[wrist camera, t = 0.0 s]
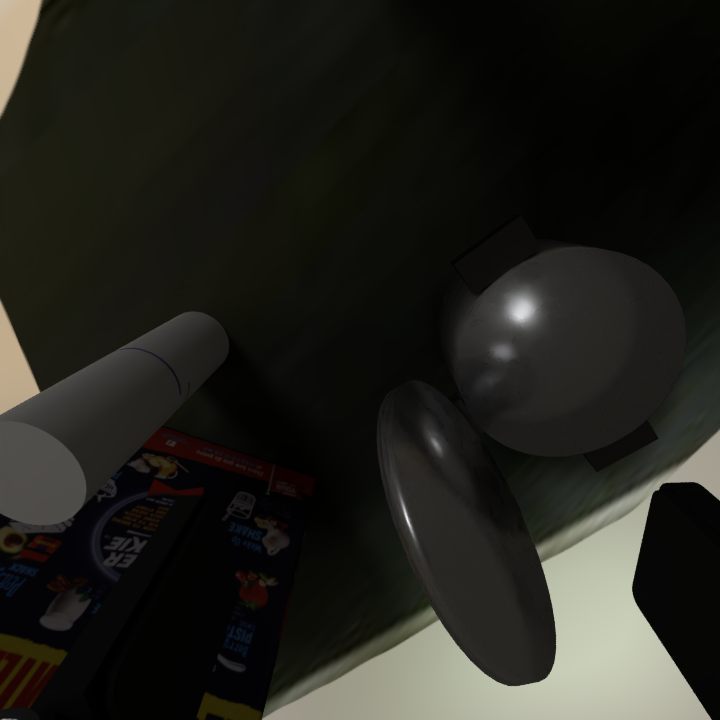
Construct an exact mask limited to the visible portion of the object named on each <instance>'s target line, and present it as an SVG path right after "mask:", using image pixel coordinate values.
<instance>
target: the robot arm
mask: <svg viewBox="0 0 720 720" xmlns="http://www.w3.org/2000/svg"><path fill="white" fill-rule="evenodd" d="M632 592H633V596H634V599H635V602H636V604H637V606H638V607H639V609H640V610H641V612H642V613H643V615H644V616H645V618H646V620H647V621H648V622H649V624H650V626H651V627H652V629H653V630H654V632H655V633H656V635H657V636H658V638H659V639H660V641H661V643H662V644H663V646H664V647H665V649H666V650H667V652H668V653H669V655H670V656H671V658H672V659H673V661H674V662H675V664H676V666H677V667H678V669H679V670H680V672H681V673H682V675H683V676H684V678H685V679H686V681H687V682H688V684H689V685H690V687H691V688H692V690H693V692H694V693H695V694H696V696H697V698H698V699H699V701H700V702H701V704H702V705H703V707H704V708H705V710H706V712H707V713H708V715H709V716H710V718H711V719H712V720H720V501H719V500H718V499H717V498H716V497H715V496H713V495H712V494H711V493H710V492H709V491H708V490H707V489H705V488H704V487H703V486H701V485H700V484H698V483H695V482H681V483H664V484H662V485H661V486H660V489H659V490H657V491H655V492H654V493H653V495H652V498H651V503H650V507H649V512H648V516H647V521H646V526H645V530H644V534H643V539H642V543H641V548H640V553H639V557H638V562H637V566H636V571H635V575H634V580H633V586H632ZM235 604H236V588H235V583H234V578H233V574H232V569H231V565H230V560H229V555H228V551H227V546H226V541H225V537H224V532H223V527H222V523H221V518H220V514H219V509H218V505H217V503H216V502H215V501H210V498H209V497H208V495H181V496H179V497H178V498H177V499H176V500H175V502H174V503H173V505H172V506H171V508H170V509H169V510H168V512H167V513H166V515H165V516H164V518H163V519H162V521H161V522H160V524H159V525H158V527H157V528H156V530H155V531H154V532H153V534H152V535H151V537H150V538H149V540H148V541H147V543H146V544H145V546H144V547H143V549H142V550H141V552H140V553H139V555H138V556H137V557H136V559H135V560H134V562H133V563H131V564H130V565H129V566H128V567H127V568H126V570H125V571H124V572H123V574H122V575H121V577H120V578H119V580H118V581H117V583H116V584H115V585H114V587H113V588H112V590H111V591H110V593H109V594H108V596H107V597H106V598H105V600H104V601H103V603H102V604H101V606H100V607H99V609H98V610H97V612H96V613H95V614H94V616H93V617H92V619H91V620H90V622H89V623H88V625H87V626H86V627H85V629H84V630H83V632H82V633H81V635H80V636H79V638H78V639H77V641H76V642H75V643H74V645H73V646H72V648H71V649H70V651H69V652H68V654H67V655H66V657H65V658H64V659H63V661H62V662H61V664H60V665H59V667H58V668H57V670H56V671H55V672H54V674H53V675H52V677H51V678H50V680H49V681H48V683H47V684H46V686H45V687H44V688H43V690H42V691H41V693H40V694H39V696H38V697H37V699H36V700H35V701H34V703H33V704H32V706H31V707H30V708H25V707H12V708H8V709H3V710H0V720H196V717H197V714H198V711H199V708H200V706H201V703H202V700H203V697H204V694H205V691H206V689H207V686H208V683H209V680H210V677H211V674H212V671H213V669H214V666H215V663H216V660H217V657H218V654H219V652H220V649H221V646H222V643H223V640H224V637H225V634H226V632H227V629H228V626H229V623H230V620H231V617H232V615H233V612H234V608H235Z"/></svg>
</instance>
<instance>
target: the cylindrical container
mask: <svg viewBox="0 0 720 720" xmlns="http://www.w3.org/2000/svg"><path fill="white" fill-rule="evenodd" d="M228 352H229V339H228V336H227V334H226V332H225V330H224V328H223V327H222V326H221V324H220V323H219V322H218V321H216V320H215V319H214V318H212V317H211V316H209V315H207V314H204V313H200V312H187V313H183V314H181V315H179V316H177V317H175V318H174V319H172V320H170V321H168V322H166V323H165V324H163V325H161V326H159V327H157V328H156V329H154V330H152V331H150V332H148V333H147V334H145V335H143V336H141V337H139V338H138V339H136V340H134V341H132V342H130V343H129V344H127V345H125V346H123V347H121V348H120V349H118V350H116V351H114V352H113V353H111V354H109V355H107V356H105V357H103V358H102V359H100V360H98V361H96V362H95V363H93V364H91V365H89V366H87V367H86V368H84V369H82V370H80V371H78V372H77V373H75V374H73V375H71V376H69V377H68V378H66V379H64V380H62V381H61V382H59V383H57V384H55V385H53V386H52V387H50V388H48V389H46V390H44V391H43V392H41V393H39V394H37V395H35V396H34V397H32V398H30V399H28V400H26V401H25V402H23V403H21V404H19V405H17V406H16V407H14V408H12V409H11V410H8V411H7V412H5V413H3V414H1V415H0V514H2V515H4V516H7V517H9V518H11V519H13V520H16V521H19V522H22V523H27V524H32V525H52V524H58V523H60V522H63V521H66V520H68V519H69V518H71V517H73V516H74V515H75V514H76V513H77V512H78V511H79V510H80V509H81V508H82V507H83V506H84V505H85V504H86V503H87V502H88V501H89V500H90V499H91V498H92V497H93V496H94V495H95V494H96V493H97V492H98V490H99V489H100V488H101V487H102V486H103V485H104V484H105V483H106V482H107V481H108V480H109V479H110V478H111V477H112V476H113V475H114V474H115V473H116V472H117V471H118V470H119V469H120V468H121V467H122V466H123V465H124V464H125V463H126V462H127V461H128V460H129V459H130V458H131V457H132V456H133V455H134V454H135V453H136V452H137V451H138V450H139V449H140V448H141V447H142V445H143V444H144V443H145V442H146V441H147V440H148V439H149V438H150V437H151V436H152V435H153V434H154V433H155V432H156V431H157V430H158V429H159V428H160V427H161V426H162V425H163V424H164V423H165V422H166V421H167V420H168V419H169V418H170V417H171V416H172V415H173V414H174V413H175V412H176V411H177V410H178V409H179V408H180V407H181V405H182V404H183V403H184V402H185V401H186V400H187V399H188V398H189V397H190V396H191V395H192V394H193V393H194V392H195V391H196V390H197V389H198V388H199V387H200V386H201V385H202V384H203V383H204V382H205V381H206V380H207V379H208V378H209V377H210V376H211V375H212V374H213V373H214V372H215V370H216V369H217V368H218V367H219V366H220V365H221V364H222V363H223V362H224V361H225V359H226V358H227V355H228Z"/></svg>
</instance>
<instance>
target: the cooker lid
mask: <svg viewBox="0 0 720 720" xmlns="http://www.w3.org/2000/svg"><path fill="white" fill-rule="evenodd" d="M377 449H378V459H379V465H380V471H381V478H382V482H383V486H384V490H385V494H386V498H387V502H388V505H389V509H390V512H391V515H392V518H393V522H394V525H395V528H396V530H397V533H398V536H399V538H400V541H401V544H402V546H403V549H404V551H405V554H406V556H407V558H408V560H409V563H410V565H411V567H412V569H413V572H414V574H415V576H416V578H417V580H418V582H419V584H420V586H421V588H422V590H423V592H424V594H425V595H426V597H427V599H428V601H429V603H430V605H431V606H432V608H433V609H434V611H435V613H436V614H437V616H438V618H439V619H440V621H441V622H442V624H443V625H444V627H445V629H446V630H447V631H448V633H449V634H450V636H451V637H452V638H453V640H454V641H455V643H456V644H457V645H458V646H459V647H460V649H461V650H462V651H463V652H464V653H465V654H466V656H467V657H468V658H469V659H470V660H471V661H472V662H473V663H474V664H475V665H476V666H477V667H478V668H479V669H480V670H481V671H483V672H484V673H485V674H486V675H488V676H489V677H491V678H492V679H494V680H495V681H497V682H499V683H502V684H505V685H507V686H520V685H525V684H530V683H535V682H539V681H541V680H543V679H545V678H546V677H547V676H548V675H549V673H550V672H551V670H552V667H553V664H554V660H555V653H556V632H555V621H554V615H553V609H552V603H551V599H550V594H549V590H548V586H547V583H546V579H545V575H544V572H543V569H542V566H541V562H540V559H539V556H538V553H537V550H536V548H535V545H534V542H533V539H532V537H531V534H530V532H529V529H528V527H527V524H526V522H525V520H524V517H523V515H522V513H521V511H520V508H519V506H518V504H517V502H516V500H515V498H514V496H513V494H512V492H511V490H510V488H509V486H508V484H507V482H506V480H505V478H504V476H503V474H502V473H501V471H500V469H499V467H498V466H497V464H496V462H495V460H494V459H493V457H492V455H491V454H490V452H489V451H488V449H487V447H486V446H485V444H484V443H483V441H482V440H481V438H480V437H479V435H478V434H477V433H476V431H475V430H474V429H473V427H472V426H471V425H470V423H469V422H468V421H467V420H466V418H465V417H464V416H463V415H462V413H461V412H460V411H459V410H458V409H457V408H456V407H455V406H454V405H453V404H452V403H451V402H450V401H449V400H448V399H447V398H446V397H445V396H444V395H443V394H442V393H440V392H439V391H438V390H436V389H435V388H433V387H432V386H430V385H428V384H426V383H424V382H420V381H409V382H406V383H404V384H403V385H401V386H399V387H397V388H396V389H394V390H392V391H391V392H390V393H389V394H387V395H386V397H385V399H384V400H383V402H382V404H381V407H380V410H379V415H378V421H377Z"/></svg>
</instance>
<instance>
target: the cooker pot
mask: <svg viewBox="0 0 720 720" xmlns="http://www.w3.org/2000/svg"><path fill="white" fill-rule="evenodd" d="M451 263H452V265H453V266H454V268H455V269H456V271H457V272H458V274H457V276H456V277H455V278H454V280H453V281H452V283H451V284H450V286H449V288H448V290H447V292H446V294H445V296H444V299H443V301H442V304H441V308H440V312H439V319H438V337H439V343H440V347H441V350H442V353H443V356H444V358H445V360H446V362H447V364H448V367H449V369H450V371H451V373H452V376H453V378H454V380H455V382H456V385H457V387H458V389H459V391H460V394H461V396H462V398H463V399H462V398H461V397H460V396H459V394H458V393H455V394H454V395H452V396H451V397H449V398H448V400H449V401H450V402H451V403H452V404H453V405H454V406H455V407H456V408H457V409H458V410H459V411H460V412H461V413H462V415H463V416H464V417H465V418H466V420H467V421H468V422H469V423H470V425H471V426H472V427H473V429H474V430H475V431H476V433H477V434H478V435H479V434H481V433H482V432H484V431H485V432H486V433H487V434H488V435H490V436H491V437H492V438H493V439H495V440H497V441H498V442H500V443H501V444H503V445H505V446H507V447H509V448H512V449H514V450H517V451H520V452H523V453H526V454H531V455H537V456H547V457H562V456H572V455H578V454H583V455H584V456H585V458H586V459H587V460H588V462H589V463H590V464H591V466H592V467H593V468H594V469H595V470H596V472H598V471H600V470H602V469H603V468H605V467H607V466H609V465H611V464H613V463H614V462H616V461H618V460H620V459H622V458H624V457H626V456H627V455H629V454H631V453H633V452H635V451H637V450H639V449H640V448H642V447H644V446H646V445H648V444H650V443H651V442H653V441H655V440H657V439H659V438H658V437H657V435H656V433H655V432H654V430H653V429H652V427H651V425H650V424H649V422H648V421H647V419H648V418H649V417H650V416H651V415H652V414H653V413H654V412H655V411H656V410H657V408H658V407H659V406H660V405H661V404H662V403H663V401H664V400H665V398H666V397H667V395H668V394H669V392H670V391H671V389H672V387H673V385H674V383H675V381H676V379H677V377H678V374H679V372H680V369H681V366H682V363H683V358H684V353H685V347H686V328H685V320H684V316H683V312H682V308H681V306H680V304H679V301H678V299H677V297H676V295H675V293H674V292H673V290H672V289H671V287H670V286H669V284H668V283H667V282H666V281H665V280H664V279H663V278H662V277H661V275H660V274H659V273H657V272H656V271H655V270H653V269H652V268H651V267H650V266H648V265H647V264H645V263H643V262H641V261H639V260H638V259H636V258H633V257H631V256H628V255H625V254H622V253H619V252H614V251H609V250H604V249H599V248H594V247H588V246H583V245H578V244H573V243H568V242H563V241H557V240H552V239H547V238H537V237H534V235H533V234H532V232H531V230H530V229H529V227H528V226H527V224H526V222H525V221H524V219H523V217H522V216H521V215H514V216H512V217H511V218H510V219H508V220H507V221H506V222H504V223H503V224H501V225H500V226H499V227H497V228H496V229H495V230H493V231H492V232H491V233H489V234H488V235H487V236H485V237H484V238H482V239H481V240H480V241H478V242H477V243H476V244H474V245H473V246H472V247H470V248H469V249H468V250H466V251H465V252H464V253H462V254H461V255H459V256H458V257H457V258H455V259H454V260H453V261H451ZM463 400H464V401H463Z"/></svg>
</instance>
